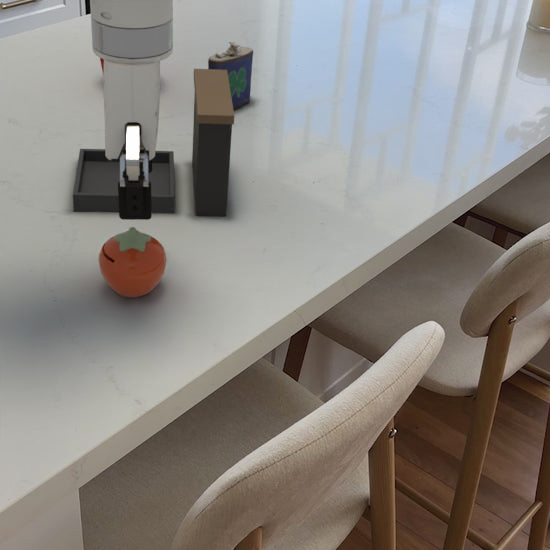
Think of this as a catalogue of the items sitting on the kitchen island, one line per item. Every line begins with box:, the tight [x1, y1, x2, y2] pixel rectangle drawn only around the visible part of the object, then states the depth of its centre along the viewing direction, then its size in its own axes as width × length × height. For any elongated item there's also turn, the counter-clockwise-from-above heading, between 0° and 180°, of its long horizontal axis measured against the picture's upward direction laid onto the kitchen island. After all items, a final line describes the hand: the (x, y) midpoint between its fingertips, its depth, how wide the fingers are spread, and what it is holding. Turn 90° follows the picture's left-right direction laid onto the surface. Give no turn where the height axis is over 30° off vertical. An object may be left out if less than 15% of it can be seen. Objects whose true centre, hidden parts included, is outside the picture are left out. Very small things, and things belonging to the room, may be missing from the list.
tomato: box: [98, 226, 168, 299], centre depth 97 cm, size 7×7×8 cm
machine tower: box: [191, 68, 235, 217], centre depth 116 cm, size 4×14×14 cm, turn 6°
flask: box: [207, 41, 254, 111], centre depth 139 cm, size 9×3×11 cm, turn 139°
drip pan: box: [72, 148, 176, 214], centre depth 118 cm, size 13×13×2 cm
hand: (136, 193), depth 93 cm, fingers open, 9 cm apart
